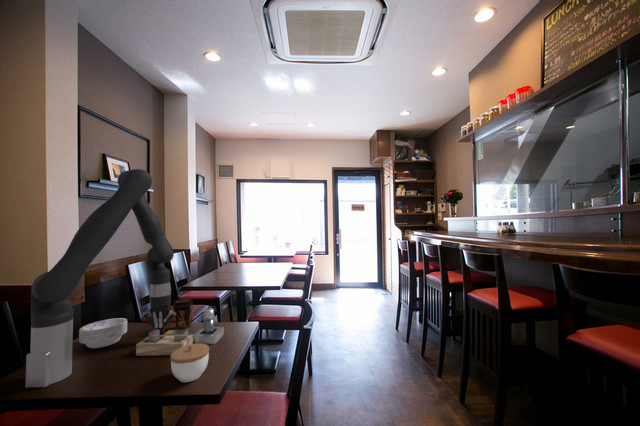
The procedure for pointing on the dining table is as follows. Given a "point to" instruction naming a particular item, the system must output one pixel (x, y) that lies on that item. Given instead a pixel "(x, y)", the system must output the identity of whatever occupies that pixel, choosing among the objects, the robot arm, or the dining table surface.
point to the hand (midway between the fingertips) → (160, 336)
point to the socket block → (208, 336)
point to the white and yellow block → (176, 332)
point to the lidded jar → (189, 362)
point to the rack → (162, 343)
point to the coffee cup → (183, 313)
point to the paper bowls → (103, 332)
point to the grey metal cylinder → (208, 321)
